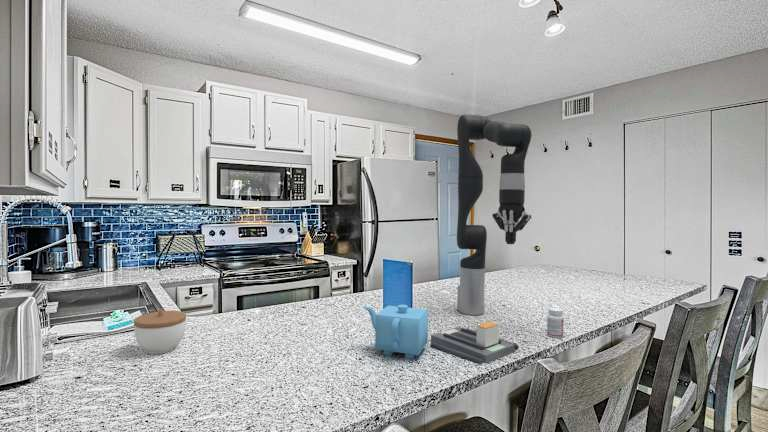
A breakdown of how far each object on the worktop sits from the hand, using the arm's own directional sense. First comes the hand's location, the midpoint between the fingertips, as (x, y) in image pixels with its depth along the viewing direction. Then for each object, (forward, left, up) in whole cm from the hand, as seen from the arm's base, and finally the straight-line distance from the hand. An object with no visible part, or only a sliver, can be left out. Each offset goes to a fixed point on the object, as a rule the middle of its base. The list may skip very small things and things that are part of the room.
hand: (510, 243), depth 124 cm
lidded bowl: (-52, -88, -29) cm, 106 cm away
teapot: (-13, -37, -29) cm, 49 cm away
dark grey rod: (-1, -8, -29) cm, 30 cm away
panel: (-1, -17, -29) cm, 34 cm away
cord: (0, -26, -29) cm, 39 cm away
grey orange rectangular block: (+5, -17, -27) cm, 32 cm away
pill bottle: (+9, +12, -29) cm, 33 cm away
